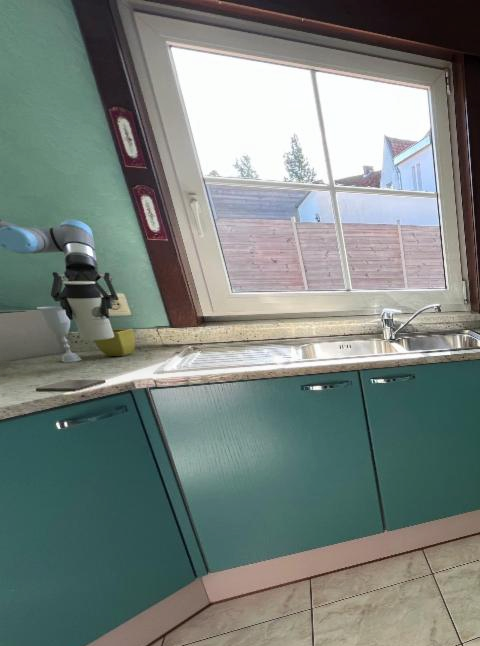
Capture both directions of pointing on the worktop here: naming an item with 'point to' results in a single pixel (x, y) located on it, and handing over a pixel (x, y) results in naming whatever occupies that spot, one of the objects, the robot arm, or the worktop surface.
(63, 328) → the chalice
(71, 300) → the travel mug
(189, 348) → the worktop surface
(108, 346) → the flower pot
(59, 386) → the coaster
